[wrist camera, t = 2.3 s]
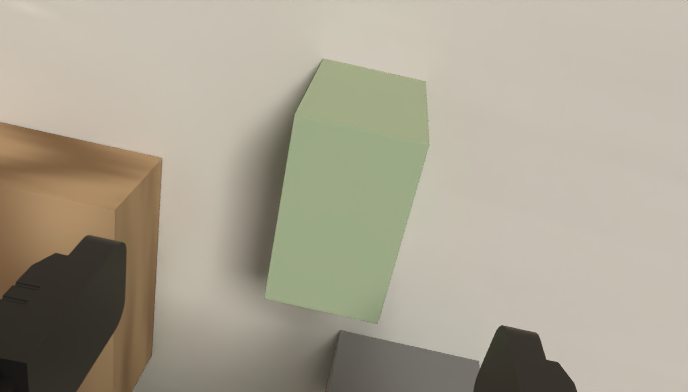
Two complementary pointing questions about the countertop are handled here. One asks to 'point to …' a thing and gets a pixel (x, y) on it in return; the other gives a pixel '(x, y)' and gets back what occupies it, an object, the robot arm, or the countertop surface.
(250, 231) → the countertop surface
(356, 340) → the charcoal brick
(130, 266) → the oak block
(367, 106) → the sage brick
